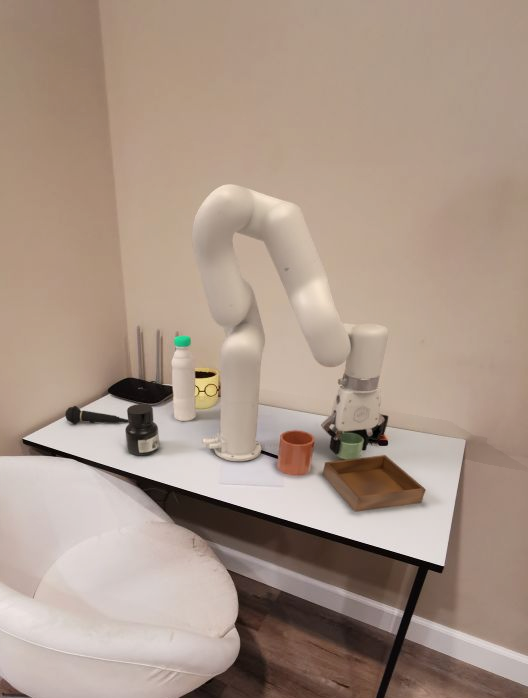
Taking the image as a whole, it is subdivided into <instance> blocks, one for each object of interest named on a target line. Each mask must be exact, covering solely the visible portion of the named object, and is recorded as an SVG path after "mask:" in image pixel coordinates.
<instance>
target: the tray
mask: <svg viewBox="0 0 528 698" xmlns="http://www.w3.org/2000/svg"><path fill="white" fill-rule="evenodd" d="M322 475H323V477H324V478H325V479H326V480H327V481H328V482H329V484H330V485H331V486H332V487H333V489H334V490H335V491H336V492H337V493H338V495H340V496H341V498H342V499H343V500H344V501H345V502H346V503H347V504H348V506H349V507H350V508H351V509H352V511H353V512H355V513H357V512H363V511H372V510H380V509H386V508H387V509H388V508H394V507H402V506H410V505H417V504H422V502H423V500H424V496H425V494H426V488H425V487H424V486H422V485H421V484H420V483H419V482H418V481H416V479H414V478H413V477H412V476H411V475H409V473H408V472H406V471H405V470H404V469H402V468H401V467H400V466H399V465H398V464H397V463H396V462H394V461H393V460H392V459H390V457H388V456H387V455H386V454H383V455H374V456H366V457H365V456H364V457H358V458H356V459H348V460H347V459H341V460H340V459H339V460H333V461H325V462H324V468H323V473H322Z"/></svg>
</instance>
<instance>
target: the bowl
mask: <svg viewBox="0 0 528 698" xmlns="http://www.w3.org/2000/svg"><path fill="white" fill-rule="evenodd" d="M339 439H340V440H341V443H340V448H339V453H338V454H334V455H335V456H337V457H338V458H340V459H341V460H348V459H356V458H361V456H362V453H363V450H362V448H363V443H364V438H363V437H362V436H360V435H358V434H354V433H344V432H343V433H342V434H341V436H340V438H339Z"/></svg>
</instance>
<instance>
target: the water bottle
mask: <svg viewBox="0 0 528 698" xmlns="http://www.w3.org/2000/svg"><path fill="white" fill-rule="evenodd" d="M173 343H174V347H175V351H174V353H173V356H172V358H171V361H170V362H171V363H170V364H171V385H172V386H171V387H172V394H173V397H172V403H173V417H174V419H176V420H177V421H181V422H188V421H192V420H194V419H195V418H196V416H197V409H196V403H197V402H196V401H197V399H196V367H195V365H196V359H195V357H194V355H193V352H192V351H191V350H190V347H191V344H192V338H191V337H190V336H189V335H177V336H175V337H174V341H173Z"/></svg>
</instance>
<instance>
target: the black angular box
mask: <svg viewBox="0 0 528 698" xmlns="http://www.w3.org/2000/svg"><path fill="white" fill-rule="evenodd" d="M380 414H381V415H382V416H383V417H384V418H385V420H384V421H383V422H382V423H381V424H380V425H379V426H378V428H377V429H376V430H375V431H373V432H372V435H371V436H369V440H368V444H375V445H377V444H379V442H380V440H381V438H383V437H384V435H385V432H386V429H387V426H388V422H389V415H387V414H382V413H380ZM360 431H362V430H354V431H346V432H343V433H354V434H358V435H359V433H360ZM381 435H383V436H381Z"/></svg>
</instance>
